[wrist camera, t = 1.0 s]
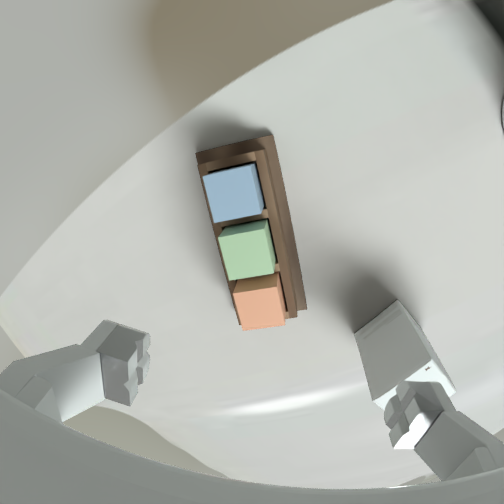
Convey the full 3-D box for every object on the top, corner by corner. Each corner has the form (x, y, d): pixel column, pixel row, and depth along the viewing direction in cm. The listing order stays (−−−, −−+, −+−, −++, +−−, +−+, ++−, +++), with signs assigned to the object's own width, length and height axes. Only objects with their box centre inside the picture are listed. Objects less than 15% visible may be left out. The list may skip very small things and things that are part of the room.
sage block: (267, 217, 37) (264, 228, 33) (275, 257, 39) (274, 273, 34) (226, 225, 38) (217, 237, 33) (236, 264, 40) (229, 280, 35)
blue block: (255, 162, 35) (250, 165, 31) (264, 204, 37) (261, 213, 32) (213, 172, 36) (202, 176, 31) (223, 213, 38) (214, 223, 33)
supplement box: (351, 333, 46) (369, 401, 32) (397, 297, 44) (432, 357, 30) (381, 364, 48) (403, 429, 34) (424, 332, 45) (458, 392, 31)
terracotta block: (278, 269, 39) (276, 286, 34) (285, 304, 41) (284, 325, 36) (239, 275, 40) (232, 293, 35) (248, 310, 42) (243, 330, 37)
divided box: (273, 135, 38) (270, 133, 33) (306, 304, 45) (308, 325, 40) (198, 152, 40) (184, 154, 34) (239, 314, 47) (233, 336, 42)
